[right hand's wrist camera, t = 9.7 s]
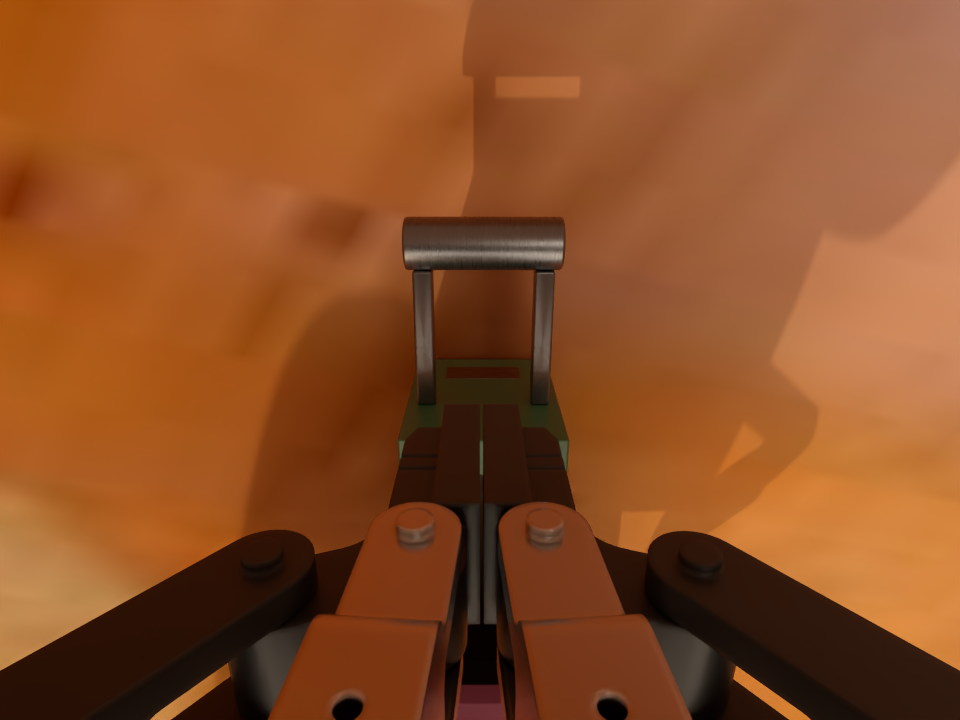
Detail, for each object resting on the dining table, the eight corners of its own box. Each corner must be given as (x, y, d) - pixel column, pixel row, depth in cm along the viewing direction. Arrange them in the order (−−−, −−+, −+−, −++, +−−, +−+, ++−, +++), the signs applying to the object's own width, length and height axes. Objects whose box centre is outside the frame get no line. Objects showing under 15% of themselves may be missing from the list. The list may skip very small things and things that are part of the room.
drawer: (413, 202, 21) (386, 230, 15) (552, 202, 21) (582, 231, 15) (430, 652, 29) (416, 793, 23) (533, 652, 29) (547, 793, 23)
